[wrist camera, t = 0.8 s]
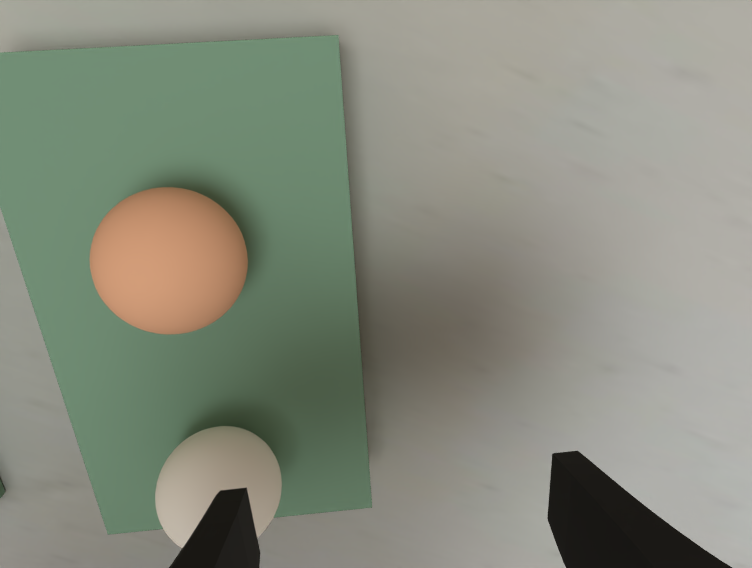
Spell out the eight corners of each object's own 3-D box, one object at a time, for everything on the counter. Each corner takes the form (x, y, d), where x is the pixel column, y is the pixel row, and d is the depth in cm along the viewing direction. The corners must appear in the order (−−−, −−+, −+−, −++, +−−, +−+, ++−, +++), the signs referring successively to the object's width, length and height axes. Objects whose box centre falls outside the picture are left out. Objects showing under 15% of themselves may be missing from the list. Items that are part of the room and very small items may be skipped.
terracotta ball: (264, 294, 17) (246, 354, 13) (139, 303, 17) (85, 368, 13) (246, 170, 16) (220, 200, 12) (108, 179, 15) (38, 213, 12)
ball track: (367, 456, 24) (371, 507, 21) (-73, 499, 22) (-130, 558, 20) (336, 41, 17) (338, 35, 14) (-280, 73, 16) (-407, 73, 13)
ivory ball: (292, 485, 20) (283, 578, 16) (186, 496, 20) (152, 592, 16) (279, 397, 19) (266, 478, 15) (164, 407, 18) (122, 492, 15)
